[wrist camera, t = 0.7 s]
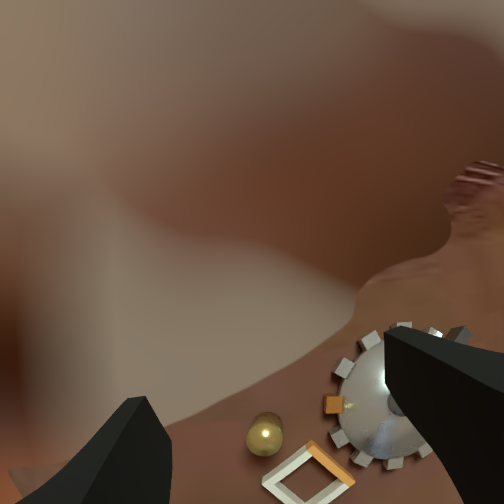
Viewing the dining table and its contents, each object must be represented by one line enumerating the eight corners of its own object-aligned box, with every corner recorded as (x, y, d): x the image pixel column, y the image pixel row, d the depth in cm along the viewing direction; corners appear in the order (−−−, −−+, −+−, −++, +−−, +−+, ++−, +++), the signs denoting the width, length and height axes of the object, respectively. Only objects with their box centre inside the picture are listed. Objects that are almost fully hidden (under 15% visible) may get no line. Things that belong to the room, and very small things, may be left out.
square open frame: (351, 474, 26) (355, 481, 24) (303, 510, 25) (305, 519, 23) (311, 439, 28) (313, 444, 26) (262, 476, 27) (261, 484, 25)
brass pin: (288, 426, 28) (290, 441, 23) (266, 444, 28) (262, 462, 22) (268, 406, 29) (265, 417, 24) (246, 424, 29) (238, 439, 23)
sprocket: (482, 375, 27) (505, 376, 22) (385, 487, 24) (398, 503, 20) (403, 286, 32) (420, 276, 27) (292, 402, 29) (293, 410, 25)
